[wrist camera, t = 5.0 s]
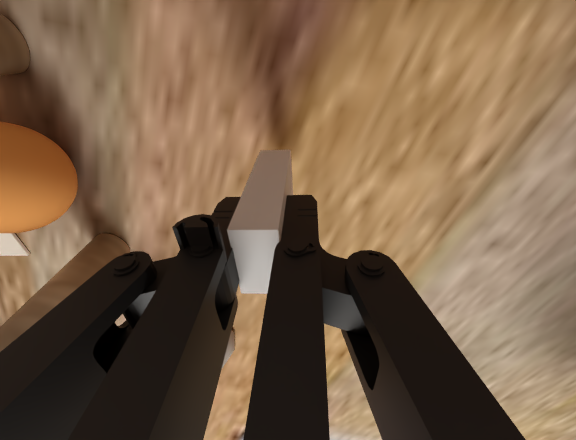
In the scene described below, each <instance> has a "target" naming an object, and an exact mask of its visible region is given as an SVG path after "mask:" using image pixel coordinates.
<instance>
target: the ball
mask: <svg viewBox="0 0 576 440" xmlns="http://www.w3.org/2000/svg"><path fill="white" fill-rule="evenodd" d="M77 188H78V180H77V174H76V170H75V168H74V165H73V163H72V162H71V160H70V158H69V157H68V155H67V154H66V153H65V152H64V151H63V150H62V149H61V148H60V147H59V146H58V145H57V144H56V143H55V142H53V141H52V140H50V139H49V138H47V137H46V136H44V135H42V134H40V133H39V132H36V131H34V130H32V129H29V128H26V127H23V126H20V125H16V124H12V123H7V122H0V233H20V232H26V231H31V230H34V229H38V228H41V227H43V226H46V225H48V224H50V223H52V222H53V221H55V220H57V219H58V218H59V217H61V216H62V215H63V214H64V213H65V212H66V211H67V210H68V209H69V207H70V206H71V204H72V203H73V201H74V199H75V196H76V193H77Z"/></svg>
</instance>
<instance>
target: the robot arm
mask: <svg viewBox="0 0 576 440" xmlns="http://www.w3.org/2000/svg"><path fill="white" fill-rule="evenodd" d="M172 228H173V230H174V233H175V236H176V239H177V241H178V244H179V247H180V251H179V253H178V255H177V256H176V257H172V258H168V259H164V260H159V261H155V262H153V261H152V259H151V257H150V256H149V254H147V253H145V252H139V251H134V252H130V253H125V254H123V255H121V256H118V257H116V258H115V259H113V260H112V261H110V262H109V263H107V264H106V265H105V266H104V267H102V268H101V269H100V270H99V271H98V272H96V273H95V274H94V275H93V276H92V277H90V278H89V279H88V280H87V281H86V282H84V283H83V284H82V285H81V286H79V287H78V288H77V289H76V290H75V291H73V292H72V293H71V294H70V295H69V296H67V297H66V298H65V299H64V300H63V301H61V302H60V303H59V304H58V305H57V306H55V307H54V308H53V309H52V310H50V311H49V312H48V313H47V314H46V315H44V316H43V317H42V318H41V319H40V320H38V321H37V322H36V323H35V324H34V325H32V326H31V327H30V328H29V329H27V330H26V331H25V332H24V333H23V334H21V335H20V336H19V337H18V338H17V339H15V340H14V341H13V342H12V343H11V344H9V345H8V346H7V347H6V348H5V349H3V350H2V351H1V352H0V440H203V438H204V435H205V431H206V427H207V423H208V419H209V415H210V411H211V407H212V404H213V400H214V396H215V392H216V388H217V384H218V380H219V377H220V373H221V369H222V365H223V361H224V357H225V353H226V349H227V346H228V342H229V338H230V334H231V330H232V326H233V322H234V318H235V315H236V311H237V307H238V300H237V296H236V291H237V288H238V284H239V286H240V290H241V293H256V294H267V299H266V305H265V311H264V318H263V324H262V330H261V336H260V342H259V348H258V354H257V360H256V367H255V373H254V379H253V385H252V391H251V397H250V403H249V410H248V416H247V422H246V428H245V434H244V440H329V419H328V399H327V379H326V358H325V338H324V323H325V324H328V325H331V326H334V327H337V328H340V329H341V331H342V334H343V337H344V339H345V342H346V345H347V347H348V350H349V353H350V355H351V358H352V361H353V363H354V366H355V368H356V371H357V374H358V376H359V379H360V382H361V384H362V387H363V390H364V392H365V395H366V397H367V400H368V403H369V405H370V408H371V411H372V413H373V416H374V419H375V421H376V424H377V427H378V429H379V432H380V434H381V437H382V440H525V438H524V437H523V436H522V434H521V433H520V431H519V430H518V429H517V427H516V426H515V425H514V423H513V422H512V421H511V419H510V418H509V417H508V415H507V414H506V412H505V411H504V410H503V408H502V407H501V406H500V404H499V403H498V402H497V400H496V399H495V398H494V396H493V395H492V393H491V392H490V391H489V389H488V388H487V387H486V385H485V384H484V383H483V381H482V380H481V379H480V377H479V376H478V374H477V373H476V372H475V370H474V369H473V368H472V366H471V365H470V364H469V362H468V361H467V360H466V358H465V357H464V355H463V354H462V353H461V351H460V350H459V349H458V347H457V346H456V345H455V343H454V342H453V341H452V339H451V338H450V336H449V335H448V334H447V332H446V331H445V330H444V328H443V327H442V326H441V324H440V323H439V322H438V320H437V319H436V317H435V316H434V315H433V313H432V312H431V311H430V309H429V308H428V307H427V305H426V304H425V303H424V301H423V300H422V298H421V297H420V296H419V294H418V293H417V292H416V290H415V289H414V288H413V286H412V285H411V284H410V282H409V281H408V279H407V278H406V277H405V275H404V274H403V273H402V271H401V270H400V269H399V267H398V266H397V265H396V263H395V262H394V261H393V260H392V259H391V258H390V257H388V256H386V255H384V254H382V253H380V252H376V251H372V250H364V251H359V252H355V253H353V254H352V255H351V256H349V257H348V259H344V258H340V257H336V256H333V255H331V254H329V253H327V252H326V251H325V250H324V249H323V248H322V247H321V245H320V243H319V234H318V214H317V201H316V200H315V199H314V197H313V196H312V195H293V185H292V164H291V150H260V152H259V155H258V157H257V160H256V162H255V164H254V167H253V169H252V172H251V174H250V176H249V179H248V181H247V183H246V186H245V188H244V191H243V193H242V195H241V197H226V198H224V199H223V200H222V201H221V202H219V203H218V204H217V206H216V208H215V210H214V213H212V215H204V214H201V215H193V216H190V217H187V218H184V219H183V220H181V221H179V222H177V223H176V224H175V225H174V226H173V227H172ZM122 314H123V315H124V317H125V318H126V321H125V322H124V323H123V324H121V325H120V326H117V325H116V324H115V321H116V320H117V319H118V318H119V317H120V316H121V315H122Z"/></svg>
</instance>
